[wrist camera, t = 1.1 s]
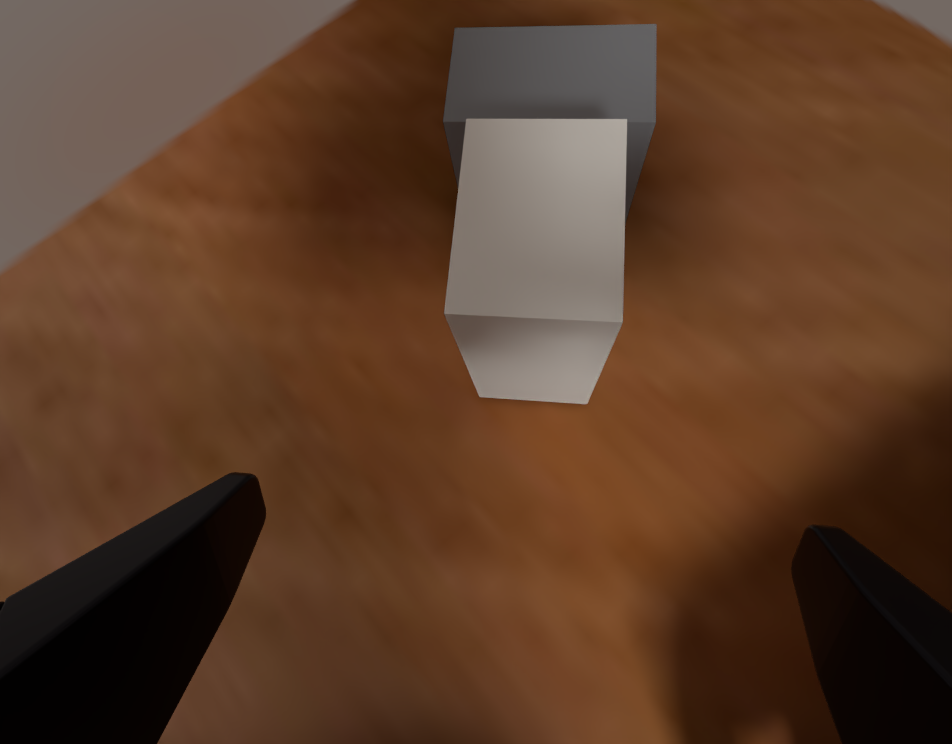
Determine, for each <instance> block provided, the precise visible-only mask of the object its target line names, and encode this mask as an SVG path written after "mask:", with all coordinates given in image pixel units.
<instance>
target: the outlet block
mask: <svg viewBox="0 0 952 744" xmlns="http://www.w3.org/2000/svg"><path fill="white" fill-rule="evenodd" d="M466 119H627V149H626V196H625V223H626V219H627V216H628V213H629V209H630V206H631V203H632V200H633V196H634V193H635V190H636V186H637V183H638V180H639V176H640V173H641V170H642V166H643V163H644V160H645V157H646V153H647V150H648V147H649V143H650V140H651V137H652V133H653V130H654V127H655V123H656V24H638V25H584V26H529V27H475V28H455V31H454V39H453V47H452V55H451V62H450V70H449V78H448V86H447V94H446V102H445V110H444V117H443V124H444V128H445V133H446V137H447V142H448V146H449V150H450V155H451V159H452V164H453V168H454V173H455V177H456V181H457V186H458V187H459V178H460V169H461V161H462V152H463V143H464V134H465V126H466Z"/></svg>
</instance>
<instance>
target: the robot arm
mask: <svg viewBox="0 0 952 744" xmlns="http://www.w3.org/2000/svg"><path fill="white" fill-rule="evenodd" d="M265 518H266V508H265V504H264V500H263V496H262V492H261V489H260V485H259V481H258V478H257V477H256V476H255V475H253V474H248V473H237V472H234V473H229V474H227V475H225V476H224V477H222V478H220V479H218V480H217V481H215V482H213V483H211V484H209V485H208V486H206V487H204V488H202V489H201V490H199V491H197V492H195V493H193V494H192V495H190V496H188V497H186V498H184V499H183V500H181V501H179V502H177V503H176V504H174V505H172V506H170V507H168V508H167V509H165V510H163V511H161V512H159V513H158V514H156V515H154V516H152V517H151V518H149V519H147V520H145V521H143V522H142V523H140V524H138V525H136V526H134V527H133V528H131V529H129V530H127V531H126V532H124V533H122V534H120V535H118V536H117V537H115V538H113V539H111V540H109V541H108V542H106V543H104V544H102V545H101V546H99V547H97V548H95V549H93V550H92V551H90V552H88V553H86V554H84V555H83V556H81V557H79V558H77V559H76V560H74V561H72V562H70V563H68V564H67V565H65V566H63V567H61V568H59V569H58V570H56V571H54V572H52V573H51V574H49V575H47V576H45V577H43V578H42V579H40V580H38V581H36V582H34V583H33V584H31V585H29V586H27V587H25V588H24V589H22V590H20V591H18V592H17V593H15V594H13V595H11V596H9V597H8V598H7V599H6V600H5V602H0V744H157V743H158V741H159V739H160V737H161V735H162V733H163V731H164V729H165V728H166V726H167V724H168V722H169V720H170V718H171V716H172V714H173V713H174V711H175V709H176V707H177V705H178V703H179V701H180V699H181V697H182V696H183V694H184V692H185V690H186V688H187V686H188V684H189V682H190V681H191V679H192V677H193V675H194V673H195V671H196V669H197V667H198V665H199V664H200V662H201V660H202V658H203V656H204V654H205V652H206V650H207V649H208V647H209V645H210V643H211V641H212V639H213V637H214V635H215V633H216V632H217V630H218V628H219V626H220V624H221V622H222V620H223V618H224V616H225V615H226V613H227V611H228V609H229V607H230V605H231V602H232V600H233V598H234V596H235V593H236V591H237V589H238V586H239V584H240V581H241V579H242V577H243V574H244V572H245V569H246V567H247V564H248V562H249V559H250V557H251V554H252V552H253V550H254V547H255V545H256V542H257V540H258V537H259V535H260V532H261V530H262V527H263V525H264V522H265ZM791 571H792V578H793V582H794V586H795V590H796V594H797V598H798V602H799V606H800V610H801V614H802V618H803V622H804V626H805V630H806V634H807V638H808V642H809V646H810V650H811V654H812V658H813V662H814V665H815V669H816V673H817V676H818V679H819V682H820V685H821V688H822V691H823V693H824V696H825V699H826V702H827V704H828V707H829V710H830V713H831V715H832V718H833V721H834V723H835V726H836V729H837V732H838V734H839V737H840V740H841V742H842V744H952V613H951V612H950V611H948V610H947V609H946V608H945V607H943V606H942V605H941V604H939V603H938V602H937V601H935V600H934V599H933V598H931V597H930V596H929V595H928V594H926V593H925V592H924V591H922V590H921V589H920V588H918V587H917V586H916V585H914V584H913V583H912V582H910V581H909V580H908V579H907V578H905V577H904V576H903V575H901V574H900V573H899V572H897V571H896V570H895V569H893V568H892V567H891V566H890V565H888V564H887V563H886V562H884V561H883V560H882V559H880V558H879V557H878V556H876V555H875V554H874V553H873V552H871V551H870V550H869V549H867V548H866V547H865V546H863V545H862V544H861V543H859V542H858V541H857V540H855V539H854V538H853V537H852V536H850V535H849V534H848V533H846V532H845V531H844V530H842V529H840V528H838V527H834V526H824V525H809V526H808V527H807V528H806V529H805V531H804V533H803V535H802V538H801V540H800V543H799V545H798V548H797V550H796V553H795V555H794V558H793V561H792V567H791Z"/></svg>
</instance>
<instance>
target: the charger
mask: <svg viewBox="0 0 952 744" xmlns="http://www.w3.org/2000/svg"><path fill="white" fill-rule="evenodd" d="M626 149H627V119H466V126H465V134H464V143H463V152H462V161H461V169H460V178H459V187H458V196H457V205H456V213H455V222H454V231H453V240H452V248H451V257H450V266H449V275H448V283H447V292H446V301H445V310H444V315H445V317H446V320H447V322H448V324H449V327H450V329H451V331H452V334H453V336H454V338H455V341H456V343H457V345H458V348H459V350H460V352H461V355H462V357H463V359H464V362H465V364H466V366H467V369H468V371H469V373H470V376H471V378H472V380H473V383H474V385H475V387H476V390H477V392H478V395H479V397H486V398H502V399H517V400H532V401H547V402H562V403H577V404H587V403H588V401H589V398H590V396H591V394H592V391H593V389H594V387H595V385H596V382H597V380H598V378H599V376H600V373H601V371H602V369H603V366H604V364H605V362H606V360H607V357H608V355H609V353H610V350H611V348H612V346H613V344H614V341H615V339H616V337H617V334H618V332H619V330H620V328H621V325H622V323H623V289H624V242H625V196H626Z"/></svg>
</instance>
